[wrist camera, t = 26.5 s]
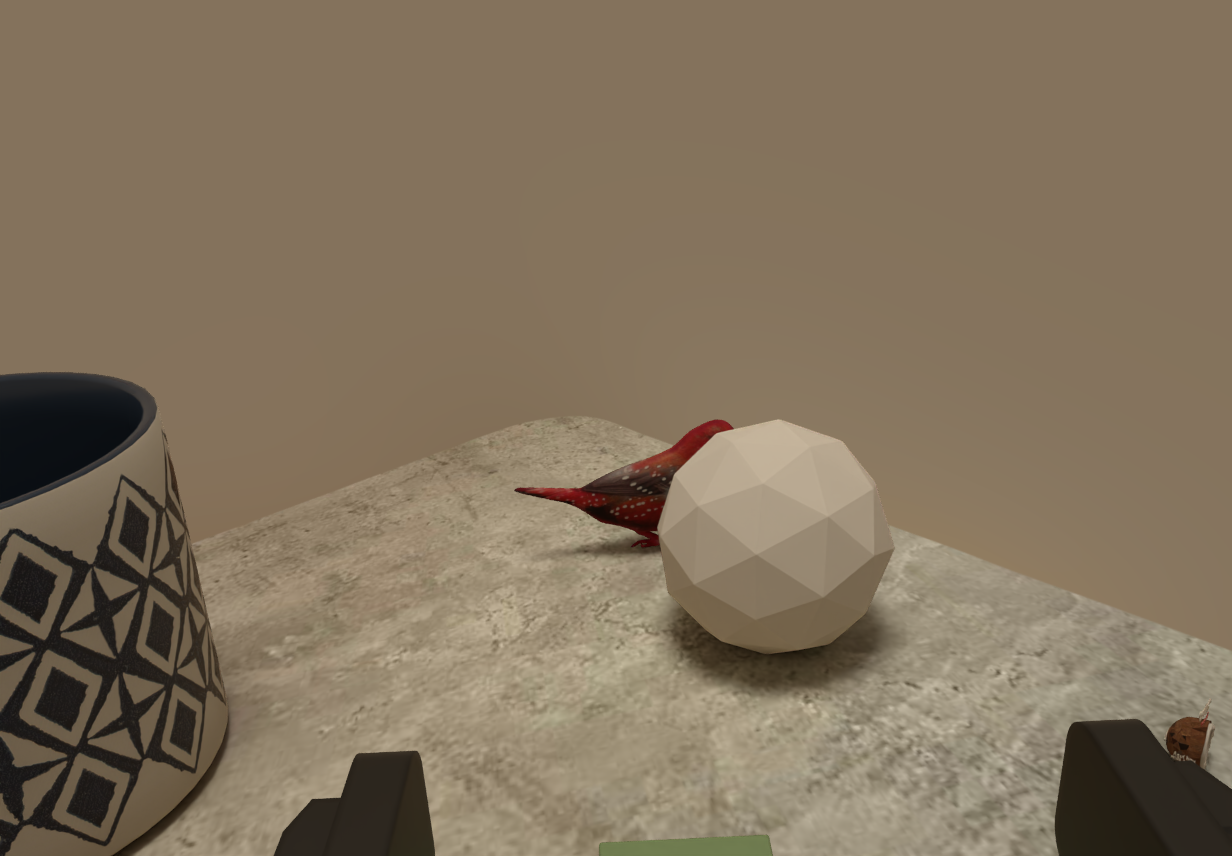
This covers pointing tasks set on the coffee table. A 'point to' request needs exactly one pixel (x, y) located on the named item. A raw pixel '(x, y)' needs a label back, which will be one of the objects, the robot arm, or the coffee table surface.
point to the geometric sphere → (774, 537)
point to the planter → (96, 621)
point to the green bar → (691, 847)
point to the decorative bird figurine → (635, 486)
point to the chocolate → (1191, 738)
